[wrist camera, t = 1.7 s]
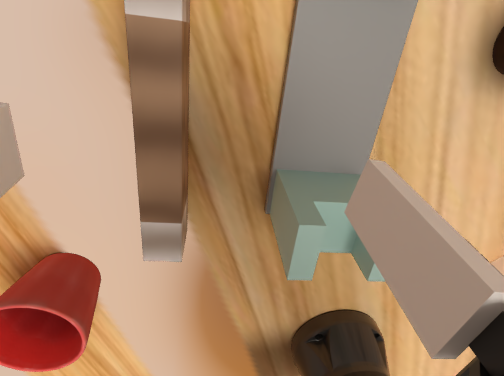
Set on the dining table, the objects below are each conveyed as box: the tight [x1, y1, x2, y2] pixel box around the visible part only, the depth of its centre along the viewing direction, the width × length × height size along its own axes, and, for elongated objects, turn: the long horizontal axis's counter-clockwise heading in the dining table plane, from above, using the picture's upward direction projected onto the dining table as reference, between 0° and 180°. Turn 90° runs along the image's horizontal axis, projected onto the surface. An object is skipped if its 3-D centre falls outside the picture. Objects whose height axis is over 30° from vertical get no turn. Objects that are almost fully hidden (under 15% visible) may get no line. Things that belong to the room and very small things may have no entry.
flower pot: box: [0, 253, 101, 372], centre depth 35 cm, size 11×11×10 cm
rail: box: [124, 0, 190, 262], centre depth 28 cm, size 28×4×6 cm, turn 174°
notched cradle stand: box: [265, 0, 418, 281], centre depth 26 cm, size 31×11×12 cm, turn 174°
